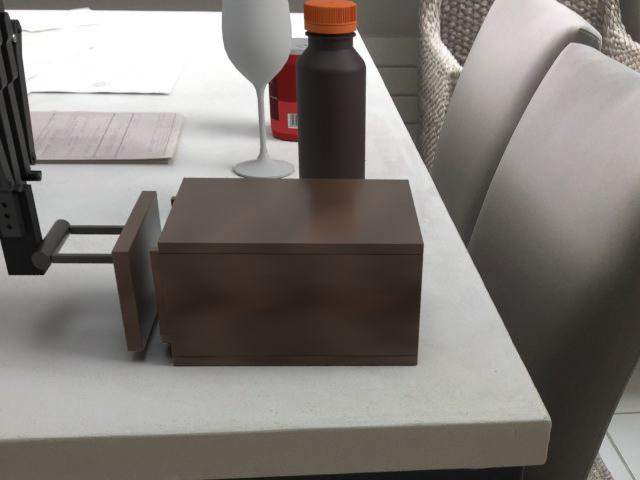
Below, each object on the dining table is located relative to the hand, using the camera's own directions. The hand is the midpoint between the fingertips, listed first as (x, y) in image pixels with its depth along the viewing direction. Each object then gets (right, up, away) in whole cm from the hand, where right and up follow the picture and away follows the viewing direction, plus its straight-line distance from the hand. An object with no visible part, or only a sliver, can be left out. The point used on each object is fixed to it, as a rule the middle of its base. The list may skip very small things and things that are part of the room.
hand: (28, 271), depth 70 cm
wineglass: (+14, +22, +37) cm, 45 cm away
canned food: (+17, +32, +50) cm, 62 cm away
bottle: (+22, +12, +24) cm, 35 cm away
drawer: (+13, -3, +3) cm, 14 cm away
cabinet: (+21, -3, +4) cm, 21 cm away
